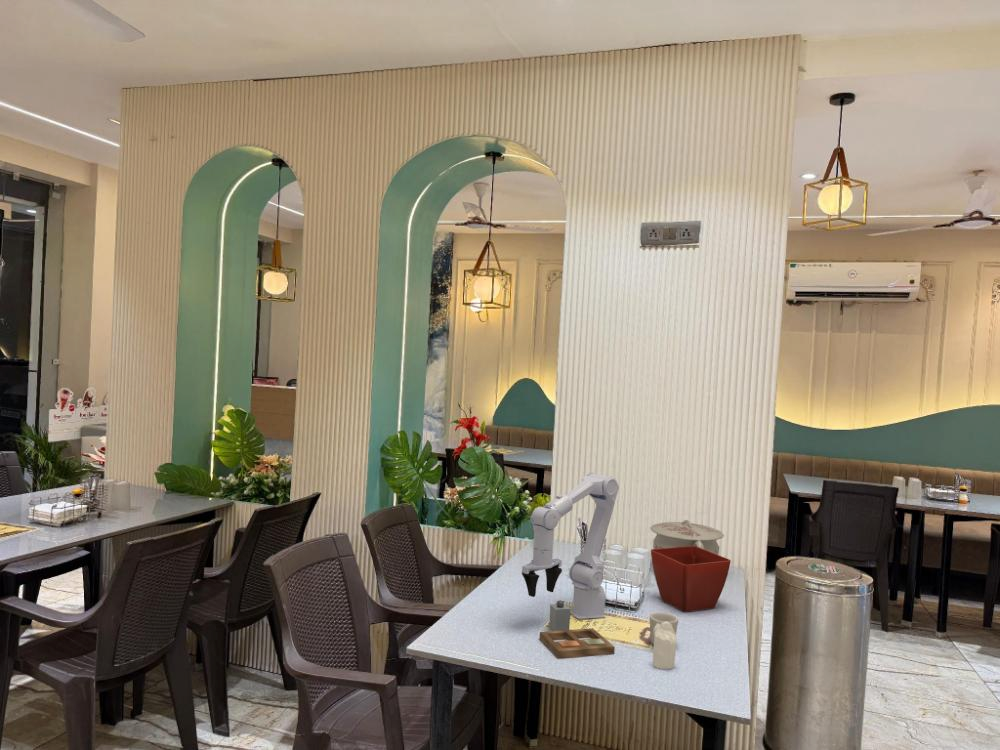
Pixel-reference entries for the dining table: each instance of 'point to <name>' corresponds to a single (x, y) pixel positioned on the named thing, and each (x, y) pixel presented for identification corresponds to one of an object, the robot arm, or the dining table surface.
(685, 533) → the chamber pot
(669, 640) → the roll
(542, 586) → the dining table surface
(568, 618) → the plug
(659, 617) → the cup
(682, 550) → the plant pot
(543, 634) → the socket board
